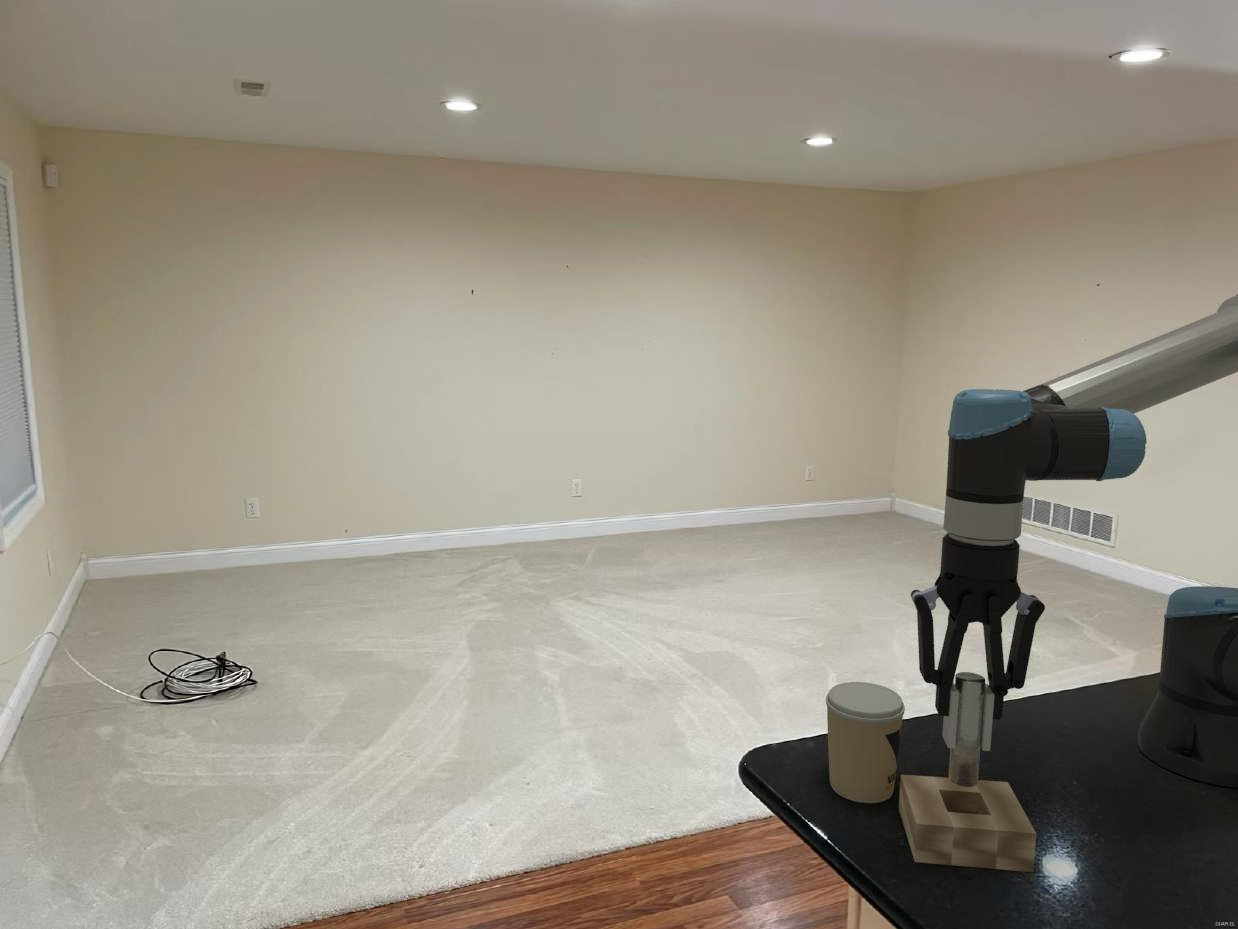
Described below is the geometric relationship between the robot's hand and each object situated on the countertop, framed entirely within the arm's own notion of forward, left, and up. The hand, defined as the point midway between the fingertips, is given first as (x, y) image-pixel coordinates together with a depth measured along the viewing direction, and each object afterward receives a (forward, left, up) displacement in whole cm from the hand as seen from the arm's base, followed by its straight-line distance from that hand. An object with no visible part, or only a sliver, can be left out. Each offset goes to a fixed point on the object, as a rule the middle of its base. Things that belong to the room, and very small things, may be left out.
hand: (965, 743), depth 91 cm
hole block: (0, 0, -12) cm, 12 cm away
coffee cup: (+10, -10, -12) cm, 18 cm away
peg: (0, 0, -4) cm, 4 cm away
